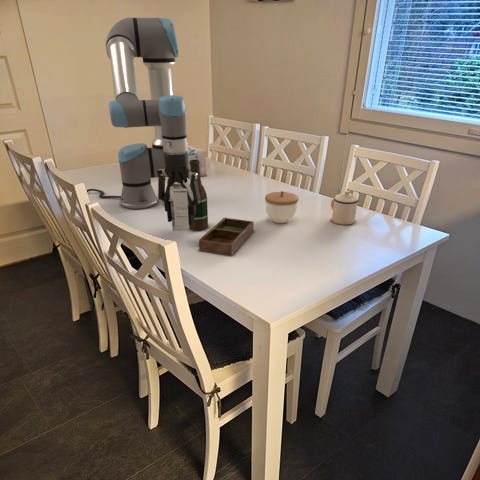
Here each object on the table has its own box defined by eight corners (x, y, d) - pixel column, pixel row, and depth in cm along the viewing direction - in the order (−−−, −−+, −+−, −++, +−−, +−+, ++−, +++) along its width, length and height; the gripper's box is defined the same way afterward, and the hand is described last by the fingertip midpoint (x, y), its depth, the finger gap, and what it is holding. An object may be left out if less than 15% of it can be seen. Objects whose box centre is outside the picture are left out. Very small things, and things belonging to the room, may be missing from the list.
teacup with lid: (360, 222, 161) (365, 192, 154) (342, 227, 157) (346, 196, 150) (338, 213, 169) (342, 184, 163) (321, 217, 166) (324, 187, 159)
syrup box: (173, 225, 147) (169, 183, 138) (190, 224, 147) (187, 183, 139) (172, 231, 142) (168, 188, 134) (190, 230, 142) (187, 188, 134)
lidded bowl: (275, 228, 156) (276, 198, 150) (258, 217, 165) (259, 189, 159) (303, 222, 161) (305, 193, 155) (285, 212, 170) (287, 184, 164)
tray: (199, 250, 139) (198, 240, 137) (224, 227, 157) (223, 217, 155) (231, 255, 136) (231, 245, 134) (253, 231, 153) (253, 221, 151)
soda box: (154, 162, 239) (151, 138, 232) (177, 159, 245) (175, 135, 238) (183, 179, 210) (180, 152, 202) (207, 175, 215) (206, 149, 208)
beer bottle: (205, 231, 153) (202, 163, 140) (185, 230, 154) (180, 162, 141) (210, 224, 159) (208, 158, 146) (191, 222, 161) (187, 157, 147)
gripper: (141, 151, 130) (149, 222, 143) (200, 157, 125) (203, 230, 138) (153, 146, 136) (160, 214, 149) (210, 152, 130) (212, 222, 143)
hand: (181, 222), depth 143 cm, fingers closed on syrup box, 7 cm apart
